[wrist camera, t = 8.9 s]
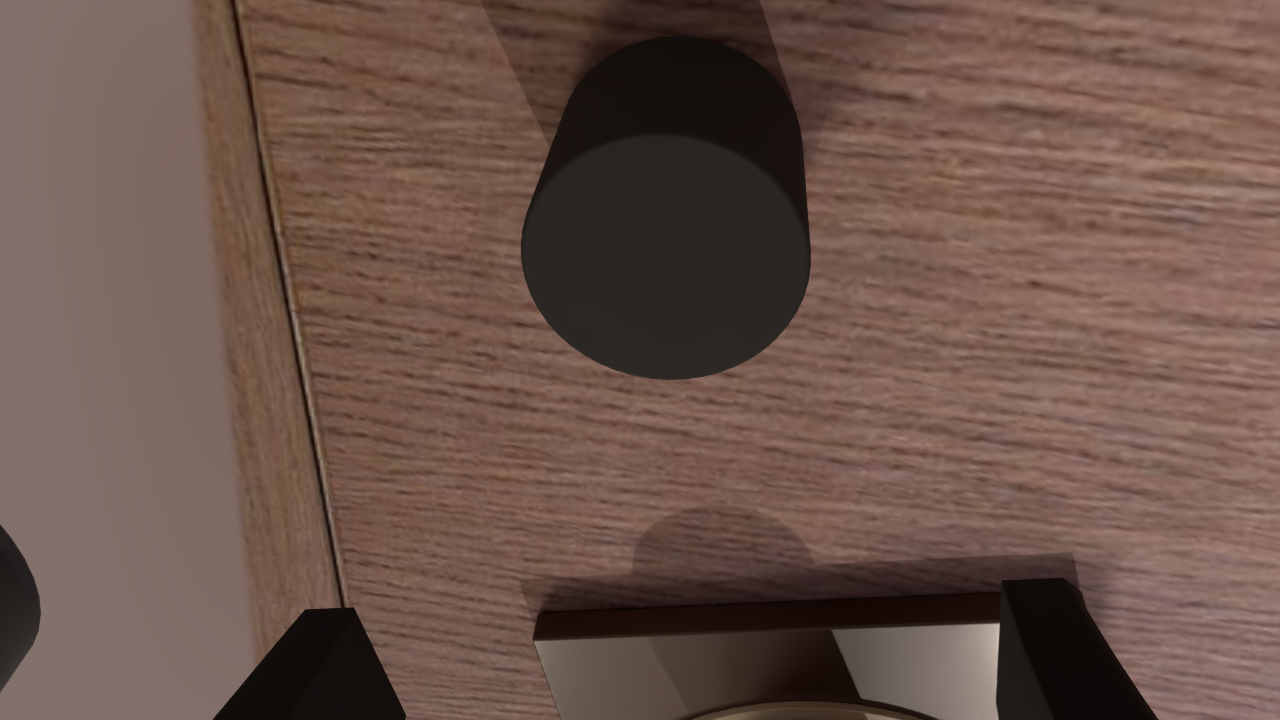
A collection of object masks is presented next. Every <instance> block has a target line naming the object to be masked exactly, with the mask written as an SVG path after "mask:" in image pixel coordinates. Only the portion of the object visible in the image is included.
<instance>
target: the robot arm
mask: <svg viewBox="0 0 1280 720" xmlns="http://www.w3.org/2000/svg"><path fill="white" fill-rule="evenodd" d="M996 706H997V712H998V718H999V720H1158V718H1157V717H1156V715H1155V714H1154V713H1153V711H1152V710H1151V708H1150V707H1149V705H1148V704H1147V703H1146V701H1145V700H1144V698H1143V697H1142V695H1141V694H1140V692H1139V691H1138V689H1137V688H1136V686H1135V685H1134V683H1133V682H1132V680H1131V679H1130V677H1129V676H1128V674H1127V673H1126V671H1125V670H1124V668H1123V667H1122V665H1121V664H1120V662H1119V661H1118V659H1117V658H1116V656H1115V654H1114V653H1113V651H1112V650H1111V648H1110V647H1109V645H1108V643H1107V642H1106V640H1105V639H1104V637H1103V635H1102V634H1101V632H1100V630H1099V629H1098V627H1097V626H1096V624H1095V622H1094V620H1093V619H1092V617H1091V615H1090V614H1089V612H1088V610H1087V608H1086V607H1085V605H1084V603H1083V601H1082V600H1081V598H1080V596H1079V594H1078V592H1077V590H1076V589H1075V587H1074V585H1072V584H1071V583H1070V582H1068V581H1067V580H1066V579H1064V578H1050V579H1026V580H1002V586H1001V606H1000V627H999V647H998V668H997V688H996ZM405 718H406V714H405V712H404V710H403V708H402V706H401V704H400V702H399V700H398V698H397V695H396V693H395V691H394V689H393V687H392V685H391V683H390V681H389V679H388V677H387V675H386V673H385V671H384V669H383V667H382V665H381V663H380V660H379V658H378V656H377V654H376V652H375V650H374V648H373V646H372V644H371V642H370V640H369V638H368V636H367V634H366V632H365V630H364V628H363V625H362V623H361V621H360V619H359V617H358V615H357V613H356V611H355V609H354V607H352V608H328V609H305V610H304V611H303V613H302V614H301V615H300V616H299V617H298V618H297V620H296V621H295V622H294V623H293V624H292V625H291V627H290V628H289V629H288V630H287V631H286V632H285V634H284V635H283V636H282V637H281V638H280V640H279V641H278V642H277V643H276V644H275V646H274V647H273V648H272V649H271V650H270V651H269V653H268V654H267V655H266V656H265V657H264V659H263V660H262V661H261V662H260V663H259V665H258V666H257V667H256V668H255V669H254V671H253V672H252V673H251V674H250V675H249V677H248V678H247V679H246V680H245V681H244V683H243V684H242V685H241V686H240V688H239V689H238V690H237V691H236V692H235V693H234V695H233V696H232V697H231V698H230V699H229V701H228V702H227V703H226V704H225V705H224V707H223V708H222V709H221V710H220V711H219V713H218V714H217V715H216V716H215V717H214V719H213V720H405Z"/></svg>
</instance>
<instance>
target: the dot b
mask: <svg viewBox="0 0 1280 720" xmlns="http://www.w3.org/2000/svg"><path fill="white" fill-rule="evenodd" d="M521 258H522V266H523V271H524V276H525V280H526V282H527V285H528V288H529V291H530V294H531V296H532V298H533V300H534V302H535V303H536V305H537V307H538V309H539V311H540V312H541V314H542V315H543V317H544V318H545V319H546V321H547V322H548V324H549V325H550V326H551V327H552V328H553V329H554V330H555V331H556V332H557V334H558V335H559V336H560V337H562V338H563V339H564V340H565V341H566V342H567V343H568V344H570V345H571V346H572V347H573V348H575V349H576V350H578V351H579V352H581V353H582V354H583V355H585V356H587V357H588V358H590V359H592V360H594V361H596V362H598V363H600V364H602V365H604V366H607V367H609V368H611V369H614V370H616V371H620V372H623V373H627V374H630V375H634V376H639V377H645V378H651V379H664V380H677V379H691V378H698V377H704V376H708V375H712V374H716V373H720V372H722V371H725V370H728V369H730V368H733V367H735V366H737V365H739V364H741V363H743V362H745V361H747V360H749V359H751V358H752V357H754V356H755V355H757V354H758V353H760V352H761V351H763V350H764V349H765V348H766V347H767V346H769V345H770V344H771V343H772V342H773V341H774V340H776V338H777V337H778V336H779V335H780V334H781V333H782V332H783V331H784V329H785V328H786V327H787V326H788V325H789V323H790V322H791V320H792V318H793V317H794V315H795V314H796V312H797V311H798V308H799V306H800V304H801V302H802V300H803V298H804V295H805V292H806V288H807V285H808V281H809V274H810V267H811V248H810V235H809V222H808V209H807V196H806V183H805V170H804V157H803V144H802V137H801V131H800V126H799V123H798V120H797V117H796V113H795V111H794V109H793V107H792V105H791V103H790V101H789V99H788V97H787V96H786V94H785V93H784V91H783V90H782V88H781V87H780V85H779V84H778V83H777V82H776V81H775V80H774V78H773V77H772V76H771V75H770V74H769V73H768V72H767V71H766V70H764V69H763V68H762V67H761V66H760V65H759V64H758V63H756V62H755V61H753V60H752V59H750V58H749V57H747V56H746V55H744V54H742V53H740V52H738V51H736V50H734V49H732V48H730V47H728V46H725V45H722V44H719V43H716V42H713V41H709V40H704V39H699V38H692V37H664V38H656V39H652V40H647V41H642V42H639V43H636V44H634V45H631V46H628V47H626V48H624V49H622V50H620V51H618V52H616V53H614V54H612V55H610V56H609V57H608V58H606V59H605V60H603V61H602V62H600V63H599V64H598V65H597V66H596V67H595V68H593V69H592V70H591V71H590V72H589V73H588V74H587V75H586V76H585V77H584V79H583V80H582V81H581V82H580V84H579V85H578V86H577V88H576V89H575V91H574V92H573V94H572V96H571V97H570V99H569V101H568V104H567V106H566V108H565V111H564V113H563V116H562V118H561V121H560V124H559V126H558V129H557V132H556V135H555V137H554V140H553V143H552V146H551V148H550V151H549V154H548V157H547V159H546V162H545V165H544V167H543V170H542V173H541V176H540V178H539V181H538V184H537V187H536V189H535V192H534V195H533V198H532V200H531V203H530V206H529V208H528V211H527V214H526V218H525V222H524V226H523V230H522V239H521Z"/></svg>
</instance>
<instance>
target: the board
mask: <svg viewBox="0 0 1280 720" xmlns="http://www.w3.org/2000/svg"><path fill="white" fill-rule="evenodd" d="M1077 592H1078V594H1079V596H1080V598H1081V600H1082V601H1083V603H1084V605H1085V607H1086V604H1085V601H1084V598H1083V595H1082V592H1081V591H1080V590H1077ZM1000 606H1001V593H992V594H969V595H946V596H923V597H900V598H878V599H855V600H832V601H809V602H786V603H763V604H740V605H717V606H694V607H672V608H649V609H626V610H603V611H580V612H557V613H540V614H538V616H537V621H536V625H535V630H534V635H533V643H534V645H535V648H536V651H537V654H538V657H539V659H540V662H541V665H542V668H543V671H544V674H545V676H546V679H547V682H548V685H549V688H550V691H551V693H552V696H553V699H554V702H555V705H556V707H557V710H558V713H559V716H560V719H561V720H999V718H998V712H997V706H996V688H997V668H998V647H999V627H1000Z"/></svg>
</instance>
